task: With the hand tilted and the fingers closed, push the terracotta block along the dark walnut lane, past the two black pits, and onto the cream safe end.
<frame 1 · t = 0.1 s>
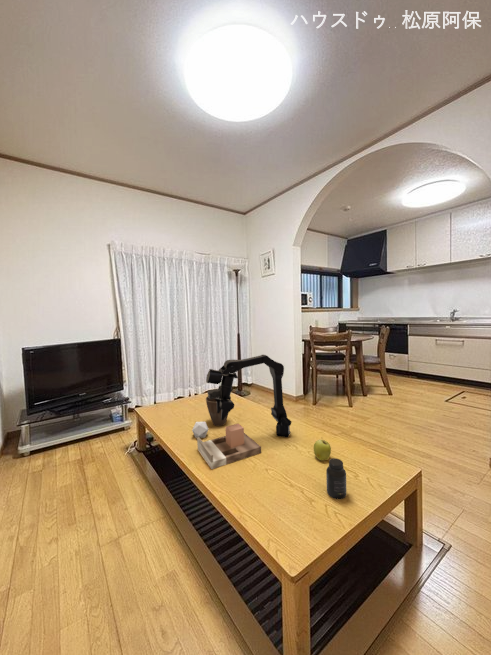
hand: (220, 416, 130), 15 cm above the table, tool pointing down, fingers open, 9 cm apart
brown piece: (229, 450, 127), on the table
plant pot: (219, 423, 159), on the table
die: (200, 436, 143), on the table
supplement bottle: (336, 494, 95), on the table
apple: (322, 458, 118), on the table
block: (235, 443, 128), point 3 cm above the table, touching brown piece
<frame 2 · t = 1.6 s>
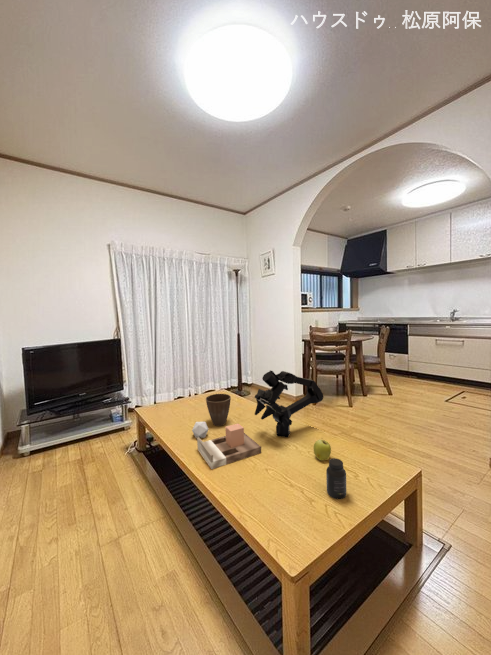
hand: (258, 417, 134), 13 cm above the table, tool tilted 45°, fingers open, 6 cm apart
nothing on the table moved.
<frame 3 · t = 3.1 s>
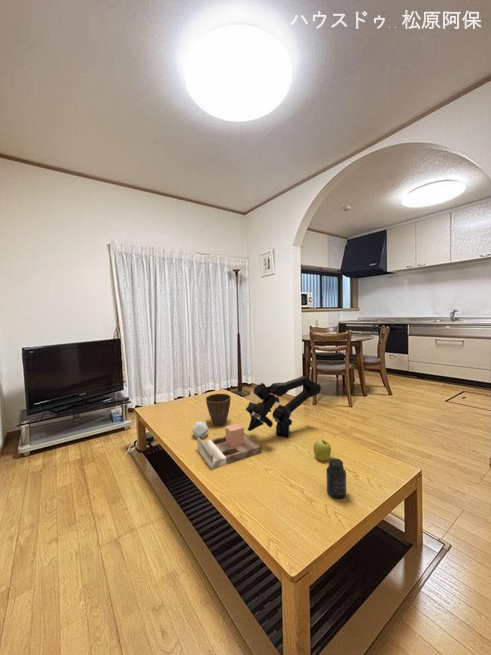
hand: (248, 430, 132), 7 cm above the table, tool tilted 45°, fingers closed
nothing on the table moved.
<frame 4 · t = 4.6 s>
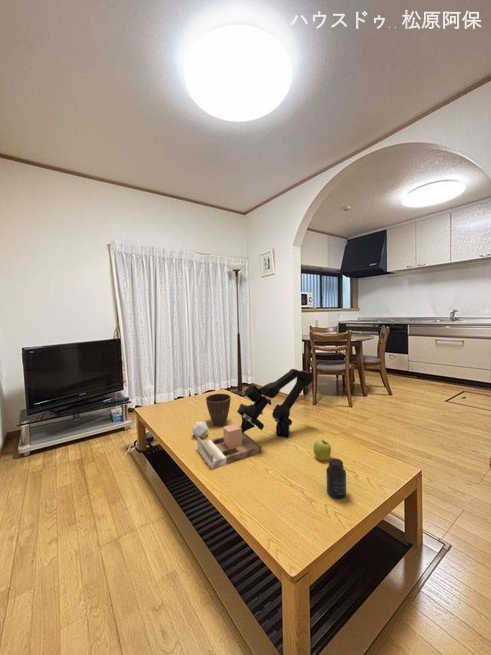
hand: (239, 433, 129), 7 cm above the table, tool tilted 45°, fingers closed, pressing on block
block: (233, 443, 128), point 3 cm above the table, touching gripper
everything else where it was.
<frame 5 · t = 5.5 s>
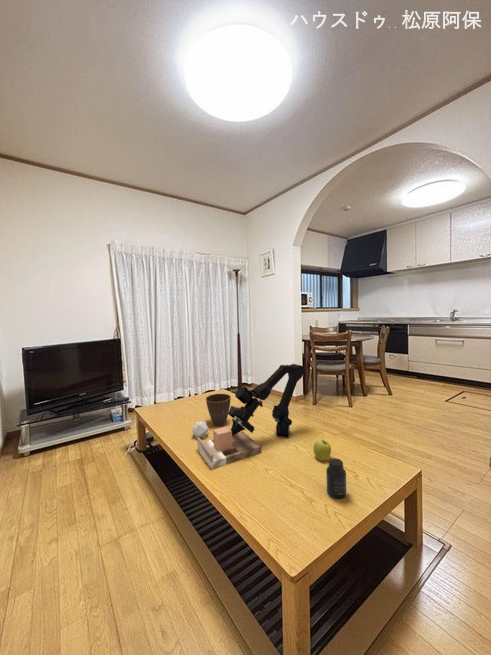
hand: (229, 435, 127), 7 cm above the table, tool tilted 45°, fingers closed, pressing on block
block: (223, 446, 125), point 3 cm above the table, touching gripper, brown piece
everything else where it was.
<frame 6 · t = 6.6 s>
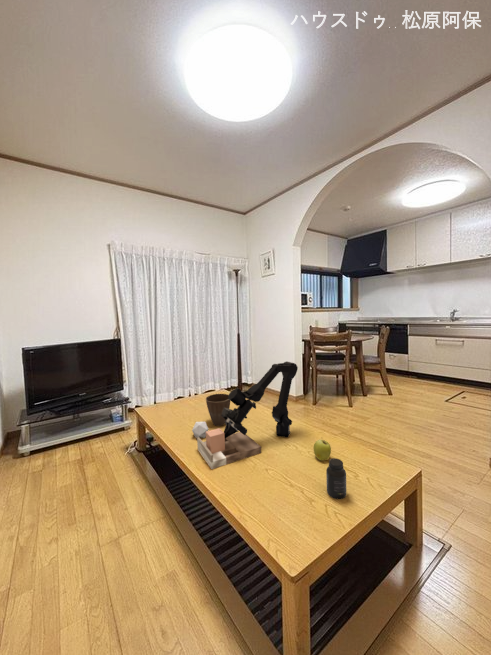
hand: (222, 438, 125), 7 cm above the table, tool tilted 45°, fingers closed, pressing on block
block: (215, 448, 124), point 3 cm above the table, touching gripper, brown piece
everything else where it was.
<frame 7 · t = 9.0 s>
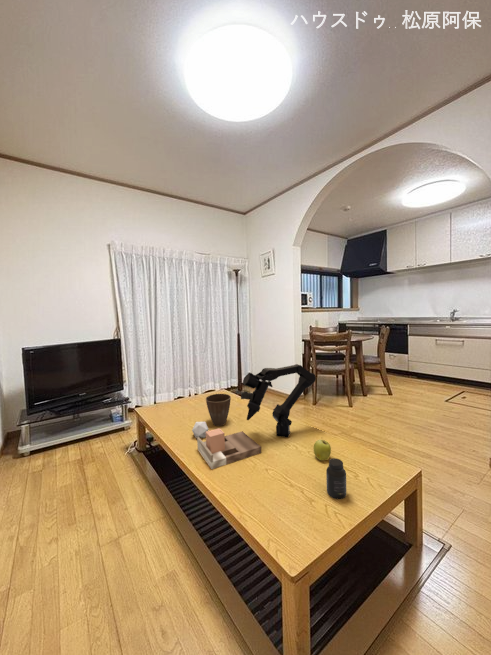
hand: (247, 419, 134), 12 cm above the table, tool tilted 30°, fingers closed
block: (215, 448, 124), point 3 cm above the table, touching brown piece
everything else where it was.
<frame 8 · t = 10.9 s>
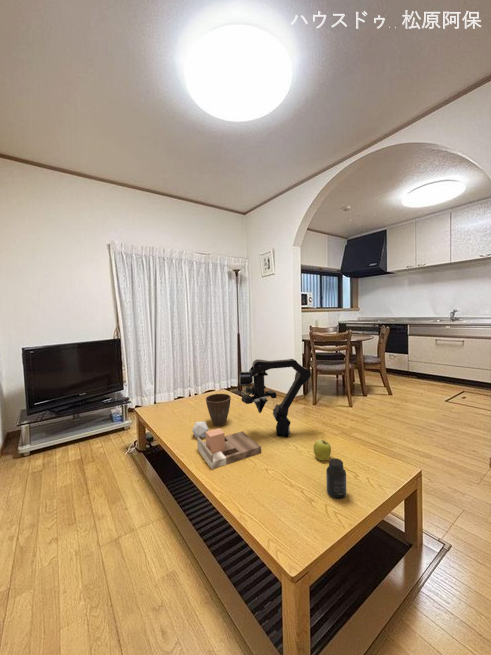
hand: (259, 412, 140), 13 cm above the table, tool pointing down, fingers closed
nothing on the table moved.
at the end: block 0.3 cm from the target spot on the brown piece, point 3.0 cm above the brown piece's base; block tilted 0° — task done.
